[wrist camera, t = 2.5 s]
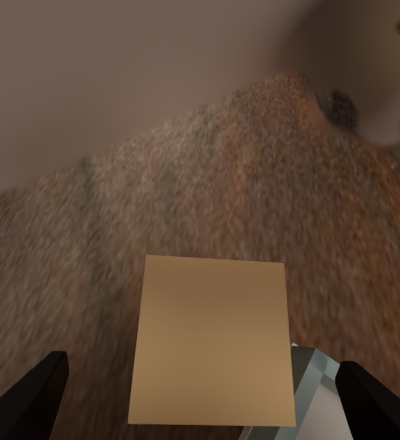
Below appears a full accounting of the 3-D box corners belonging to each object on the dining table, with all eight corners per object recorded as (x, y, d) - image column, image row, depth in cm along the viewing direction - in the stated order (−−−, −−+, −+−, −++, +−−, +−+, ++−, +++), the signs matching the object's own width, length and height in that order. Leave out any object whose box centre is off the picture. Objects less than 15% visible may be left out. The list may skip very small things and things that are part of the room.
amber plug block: (229, 378, 17) (299, 430, 8) (149, 376, 17) (123, 428, 7) (229, 297, 19) (286, 260, 9) (156, 293, 18) (143, 251, 9)
